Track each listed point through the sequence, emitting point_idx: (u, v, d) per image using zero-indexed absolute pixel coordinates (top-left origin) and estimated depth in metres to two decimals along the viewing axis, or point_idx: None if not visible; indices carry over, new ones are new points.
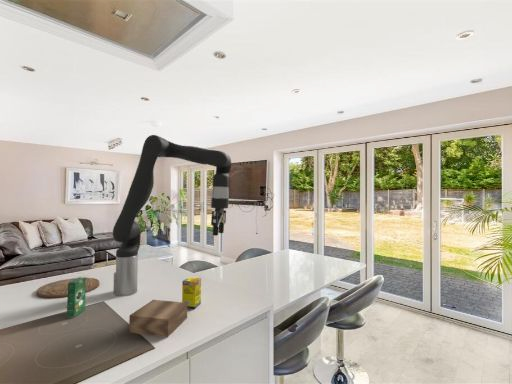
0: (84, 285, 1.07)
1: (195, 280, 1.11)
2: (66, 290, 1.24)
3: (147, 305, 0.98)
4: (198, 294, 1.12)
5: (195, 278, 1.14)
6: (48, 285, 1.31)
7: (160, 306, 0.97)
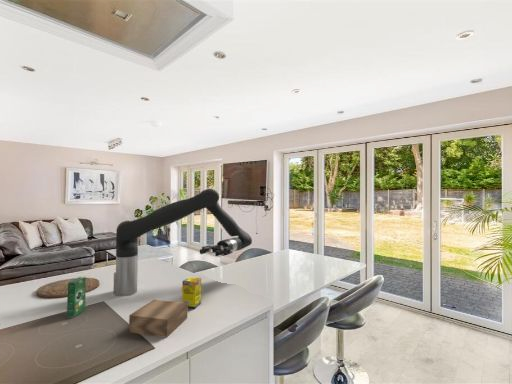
0: (84, 285, 1.07)
1: (195, 280, 1.11)
2: (66, 290, 1.24)
3: (147, 305, 0.98)
4: (198, 294, 1.12)
5: (195, 278, 1.14)
6: (48, 285, 1.31)
7: (160, 306, 0.97)
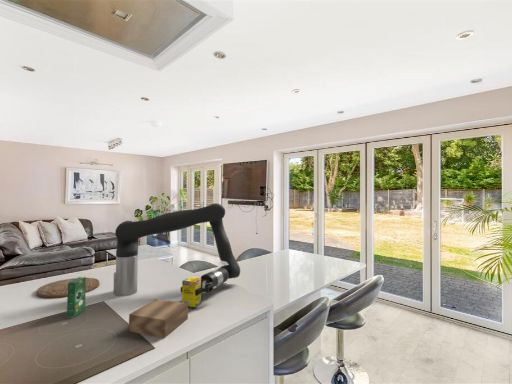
0: (84, 285, 1.07)
1: (195, 280, 1.11)
2: (66, 290, 1.24)
3: (148, 304, 0.99)
4: None
5: (195, 278, 1.14)
6: (48, 285, 1.31)
7: (161, 306, 0.97)
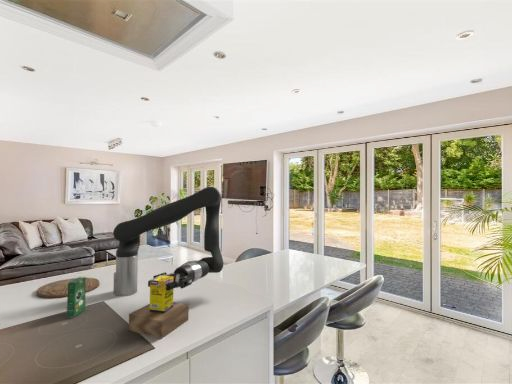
0: (84, 285, 1.07)
1: (165, 279, 0.94)
2: (66, 290, 1.25)
3: None
4: (169, 296, 0.95)
5: (166, 277, 0.97)
6: (48, 285, 1.31)
7: None
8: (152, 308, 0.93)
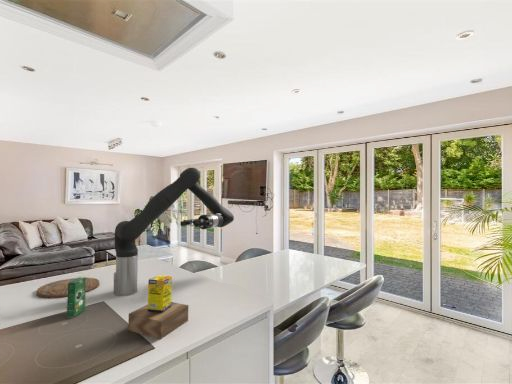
0: (84, 285, 1.07)
1: (164, 279, 0.94)
2: (66, 290, 1.25)
3: None
4: (167, 296, 0.95)
5: (164, 276, 0.97)
6: (48, 285, 1.31)
7: None
8: (150, 308, 0.93)
